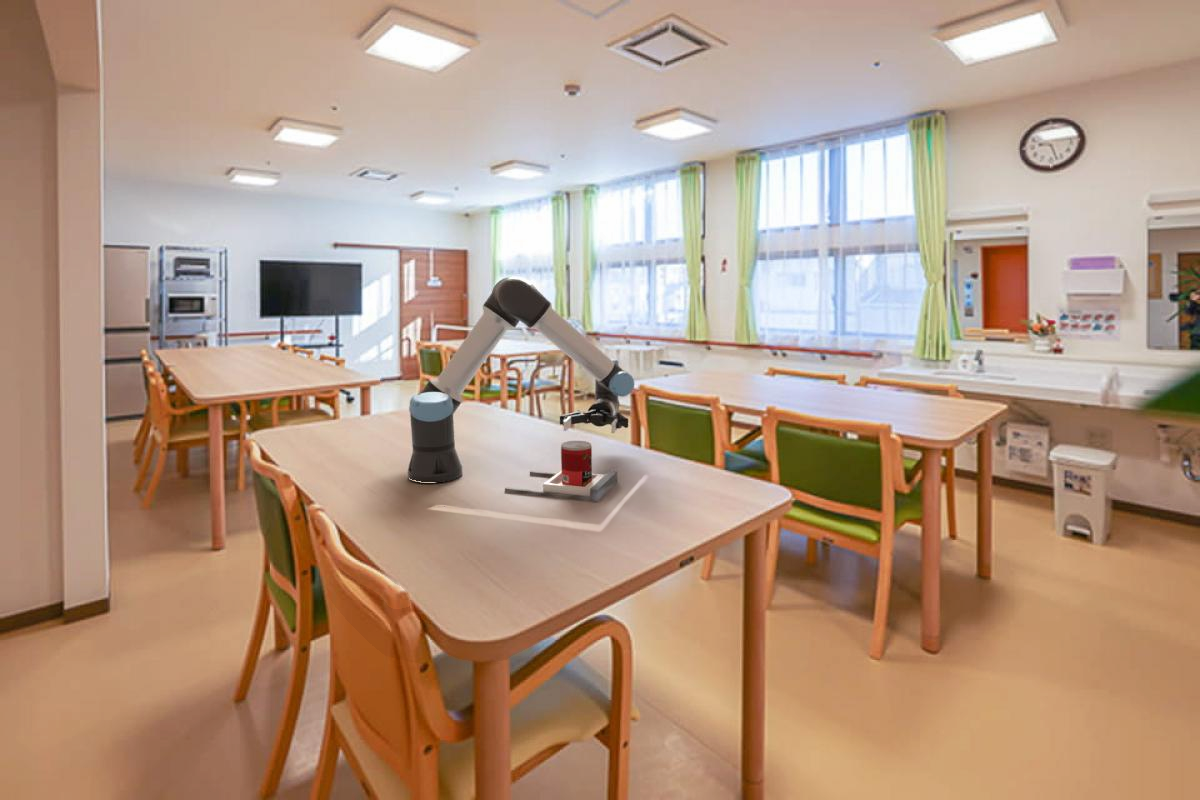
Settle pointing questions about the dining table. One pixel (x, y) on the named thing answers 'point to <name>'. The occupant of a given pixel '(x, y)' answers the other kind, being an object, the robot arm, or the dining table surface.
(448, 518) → the dining table surface
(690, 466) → the dining table surface
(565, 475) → the canned food
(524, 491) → the slide board
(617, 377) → the robot arm
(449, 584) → the dining table surface
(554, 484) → the carriage
